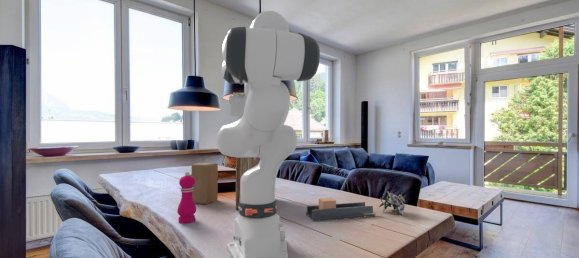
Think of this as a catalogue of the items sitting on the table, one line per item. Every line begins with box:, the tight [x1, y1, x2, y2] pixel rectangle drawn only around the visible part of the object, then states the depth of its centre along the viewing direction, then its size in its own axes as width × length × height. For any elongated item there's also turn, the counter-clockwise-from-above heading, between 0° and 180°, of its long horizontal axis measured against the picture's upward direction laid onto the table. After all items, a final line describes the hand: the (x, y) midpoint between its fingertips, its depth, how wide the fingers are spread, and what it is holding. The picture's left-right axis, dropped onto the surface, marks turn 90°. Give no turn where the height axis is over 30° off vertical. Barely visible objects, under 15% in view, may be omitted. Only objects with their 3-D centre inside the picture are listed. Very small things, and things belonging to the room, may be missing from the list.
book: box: [235, 157, 260, 211], centre depth 134 cm, size 25×9×30 cm, turn 166°
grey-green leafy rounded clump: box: [378, 191, 407, 216], centre depth 118 cm, size 11×11×12 cm
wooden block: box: [190, 162, 219, 205], centre depth 137 cm, size 10×10×20 cm
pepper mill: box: [177, 171, 197, 224], centre depth 107 cm, size 7×7×20 cm
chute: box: [305, 201, 376, 222], centre depth 115 cm, size 28×10×4 cm, turn 104°
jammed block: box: [318, 197, 337, 209], centre depth 114 cm, size 6×5×6 cm
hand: (254, 127), depth 108 cm, fingers open, 8 cm apart
